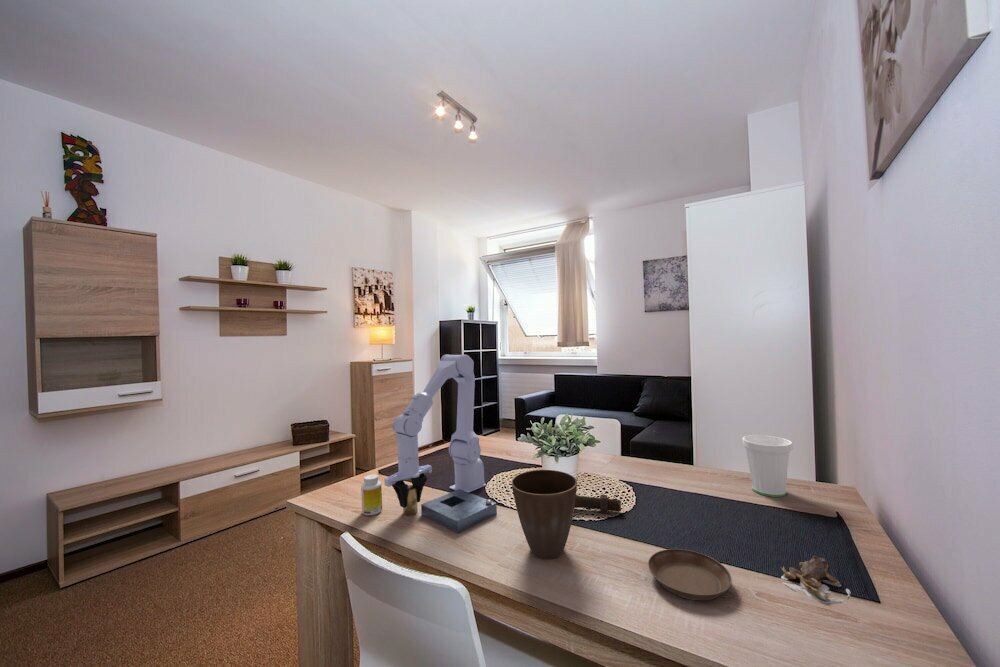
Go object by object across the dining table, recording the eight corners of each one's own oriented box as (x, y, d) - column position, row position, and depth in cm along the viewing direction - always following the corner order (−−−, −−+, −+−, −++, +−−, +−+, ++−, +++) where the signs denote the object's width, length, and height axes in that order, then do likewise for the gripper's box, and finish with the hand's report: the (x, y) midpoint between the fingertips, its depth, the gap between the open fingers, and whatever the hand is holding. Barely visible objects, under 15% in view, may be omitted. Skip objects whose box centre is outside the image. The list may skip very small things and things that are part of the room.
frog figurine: (790, 559, 85) (789, 541, 85) (863, 589, 74) (862, 569, 74) (761, 578, 79) (761, 558, 79) (836, 613, 68) (835, 591, 68)
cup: (746, 480, 127) (744, 433, 127) (794, 488, 120) (792, 437, 120) (742, 494, 117) (740, 442, 117) (795, 503, 109) (792, 448, 109)
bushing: (412, 508, 116) (411, 484, 116) (420, 511, 114) (419, 487, 114) (400, 512, 114) (399, 488, 114) (408, 516, 111) (407, 491, 111)
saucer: (693, 619, 68) (692, 603, 68) (632, 573, 82) (632, 559, 82) (750, 593, 74) (749, 579, 74) (684, 554, 88) (684, 542, 88)
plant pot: (573, 575, 81) (570, 497, 81) (505, 563, 86) (502, 490, 86) (584, 538, 95) (581, 472, 95) (524, 530, 100) (522, 467, 100)
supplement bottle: (385, 512, 114) (384, 476, 114) (366, 518, 111) (365, 481, 111) (377, 506, 119) (376, 472, 119) (359, 511, 115) (358, 476, 115)
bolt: (620, 521, 107) (565, 514, 111) (620, 504, 112) (566, 499, 116) (621, 507, 105) (564, 501, 109) (620, 491, 109) (565, 485, 113)
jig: (459, 498, 122) (459, 486, 122) (496, 513, 110) (496, 500, 110) (421, 515, 112) (420, 501, 112) (458, 533, 100) (457, 518, 100)
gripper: (393, 466, 106) (395, 517, 106) (437, 452, 116) (439, 499, 116) (379, 460, 111) (381, 509, 110) (423, 448, 121) (424, 493, 121)
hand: (410, 503), depth 114 cm, fingers closed on bushing, 4 cm apart
